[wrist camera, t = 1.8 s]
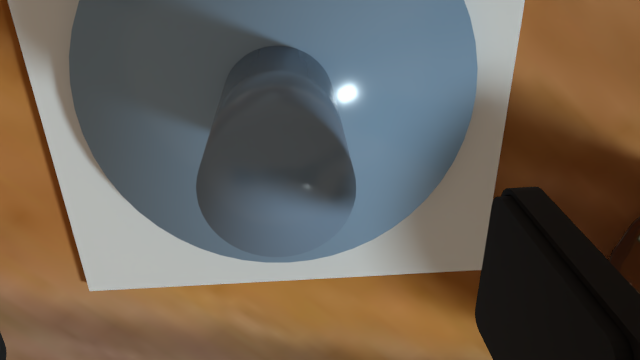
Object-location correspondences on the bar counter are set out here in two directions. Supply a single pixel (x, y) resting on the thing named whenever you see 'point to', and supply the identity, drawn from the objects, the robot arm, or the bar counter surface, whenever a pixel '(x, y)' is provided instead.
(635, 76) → the bar counter surface
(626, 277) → the food container
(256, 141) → the lid
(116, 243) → the mat
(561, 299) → the robot arm
